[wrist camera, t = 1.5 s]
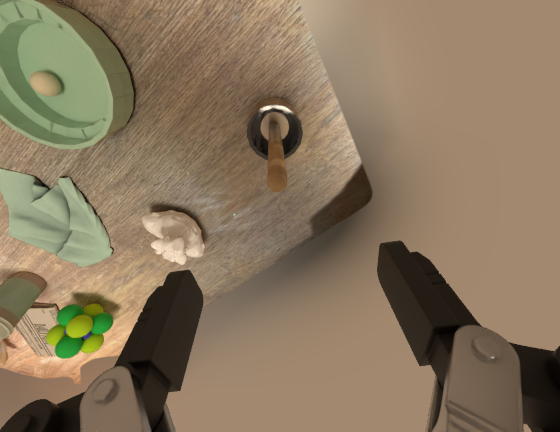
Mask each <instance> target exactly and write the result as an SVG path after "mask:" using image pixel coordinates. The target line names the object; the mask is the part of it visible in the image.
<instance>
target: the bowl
mask: <svg viewBox="0 0 560 432" xmlns="http://www.w3.org/2000/svg"><path fill="white" fill-rule="evenodd" d="M36 71H44V72H47V73H50V74H51V75H53V76H54V77H55V78H56V79H57V80H58V81H59V83H60V85H61V91H60V93H59V94H58V95H56V96H52V97H49V96H44V95H42V94H40V93H38V92H37V91H35V90H34V89H33V87H32V86H31V84H30V76H31V74H32V73H34V72H36ZM133 100H134V91H133V87H132V83H131V79H130V74H129V71H128V69H127V67H126V65H125V63H124V61H123V59H122V58H121V56H120V54H119V52H118V50H117V49H116V47H115V46H114V45H113V44H112V43H111V41H110V40H109V39H108V38H107V37H106V35H105V34H104V33H103V32H102V31H101V29H99V28H98V27H97V26H96V25H95V24H93V23H92V22H91V21H89V20H88V19H87V18H86V17H84V16H83V15H82V14H80V13H79V12H78V11H76V10H74V9H72V8H70V7H67V6H65V5H63V4H61V3H58V2H56V1H54V0H0V119H1V120H2V121H3V122H4V123H6V124H7V125H8V126H9V127H11V128H12V129H14V130H15V131H17V132H19V133H21V134H23V135H24V136H26V137H28V138H30V139H32V140H33V141H36V142H38V143H41V144H45V145H48V146H51V147H54V148H58V149H74V150H78V149H82V148H85V147H89V146H92V145H95V144H97V143H99V142H100V141H102V140H104V139H106V138H108V137H110V136H112V135H114V134H116V133H117V132H118V131H119V130H120V129H122V128H123V127H124V126H125V125H126V124H127V122H128V120H129V118H130V116H131V114H132V111H133Z"/></svg>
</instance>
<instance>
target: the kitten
mask: <svg viewBox="0 0 560 432" xmlns="http://www.w3.org/2000/svg"><path fill="white" fill-rule="evenodd" d="M7 359H8V354H7V348H6V344H5V342H4V341H3V340H2V341H0V366H2V365H4V364H5V363H6V361H7Z"/></svg>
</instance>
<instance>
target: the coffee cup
mask: <svg viewBox="0 0 560 432" xmlns="http://www.w3.org/2000/svg"><path fill="white" fill-rule="evenodd" d="M45 287H46V283H45V281H44V280H43V279H42V278H41V277H39V276H37V275H35V274H33V273H29V272H19V273H17V274H15V275H14V276H12V277H11V278H9V279H8V280H7V281H5V282H4V283H2V284H1V285H0V341H2V340H3V339H5V338H7V337H8V336H9V335H11V334H12V333H13V332H14V328H15V326H16V325H17V324H18V323H19V321H20V320H21V319H22V317H23V316H24V315H25V313H26V312H27V311H28V309H29V308H30V307H31V305H32V304H33V303H34V302H35V300H36V299H37V298H38V296H39V295H40V294H41V292H42V291H43V290H44V288H45Z"/></svg>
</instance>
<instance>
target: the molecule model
mask: <svg viewBox="0 0 560 432" xmlns="http://www.w3.org/2000/svg"><path fill="white" fill-rule="evenodd" d="M57 322H58V323H59V324H58V325H55V326H54V327H52V328H51V329H50V330H49V331H48V333H47V335H46V341H47V343H48V344H50V345H52V346H56V347H55V353H56V355H57V356H58V357H60V358H70V357H73V356H74V355H76V354H77V353H78V352H79V351H80V350H81V351H82V352H84V353H92V352H95V351H96V350H98V349H99V348H100V347H101V346H102V344H103V341H104V337H103V335H102V334H103V333H105V332H107V331H108V330H109V329H110V328H111V327H112V324H113V318H112V316H111V315H110V314H108V313H103V307H102V306H101V305H99V304H96V303H93V304H89V305H87V306H85V307H84V308H83V309H82V308H81V307H80V306H78V305H68V306H66V307H64V308H62V309H61V310H60V311H59V313H58V315H57Z"/></svg>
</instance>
